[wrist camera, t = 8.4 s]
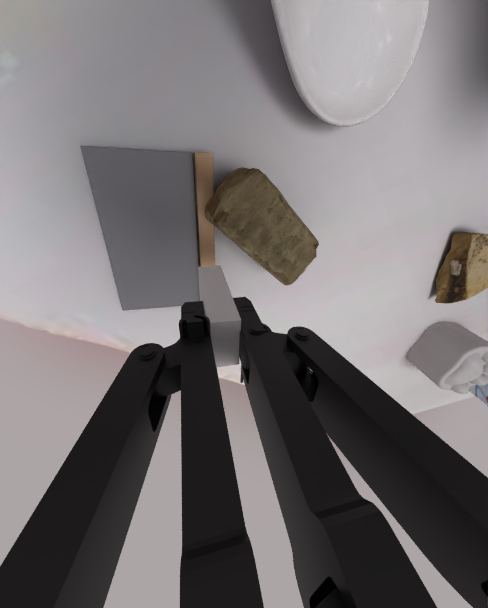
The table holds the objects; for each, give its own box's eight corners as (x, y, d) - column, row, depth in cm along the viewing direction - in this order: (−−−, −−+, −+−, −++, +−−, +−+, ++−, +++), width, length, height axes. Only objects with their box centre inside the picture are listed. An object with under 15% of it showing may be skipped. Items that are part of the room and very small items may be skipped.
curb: (194, 153, 22) (195, 152, 20) (210, 154, 22) (212, 153, 20) (201, 301, 30) (203, 310, 28) (213, 301, 30) (215, 309, 29)
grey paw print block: (434, 318, 43) (486, 349, 36) (475, 328, 47) (527, 358, 40) (399, 360, 47) (439, 396, 40) (439, 365, 52) (481, 398, 45)
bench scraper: (82, 146, 20) (80, 145, 19) (191, 152, 22) (192, 152, 21) (123, 307, 28) (122, 310, 27) (200, 302, 30) (200, 304, 29)
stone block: (271, 273, 29) (291, 291, 25) (196, 211, 23) (207, 222, 19) (303, 236, 28) (329, 249, 24) (234, 159, 21) (255, 159, 17)
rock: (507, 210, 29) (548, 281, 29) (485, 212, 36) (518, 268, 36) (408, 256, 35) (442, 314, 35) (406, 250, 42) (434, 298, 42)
